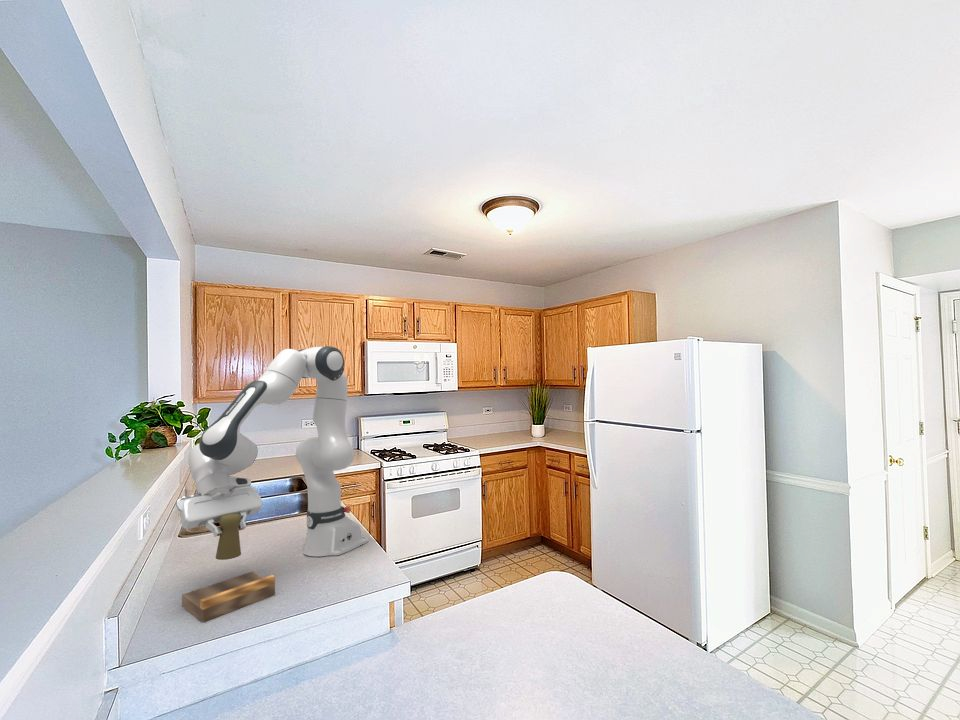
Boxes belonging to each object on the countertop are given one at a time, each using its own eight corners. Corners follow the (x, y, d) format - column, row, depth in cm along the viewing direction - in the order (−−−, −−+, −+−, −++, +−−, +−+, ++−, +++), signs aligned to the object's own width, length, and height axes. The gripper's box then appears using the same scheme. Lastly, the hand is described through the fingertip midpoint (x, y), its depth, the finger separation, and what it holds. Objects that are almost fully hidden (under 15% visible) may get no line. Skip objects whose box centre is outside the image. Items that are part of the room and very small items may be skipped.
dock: (251, 582, 132) (251, 564, 133) (274, 594, 124) (274, 576, 124) (181, 606, 118) (182, 586, 119) (202, 622, 109) (202, 601, 110)
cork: (229, 560, 118) (231, 517, 119) (210, 558, 119) (212, 516, 120) (246, 552, 124) (247, 512, 125) (227, 551, 125) (229, 511, 126)
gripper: (177, 491, 119) (190, 535, 112) (255, 477, 135) (271, 515, 128) (171, 505, 121) (184, 549, 115) (248, 490, 137) (263, 529, 131)
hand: (230, 531), depth 122 cm, fingers closed on cork, 5 cm apart
